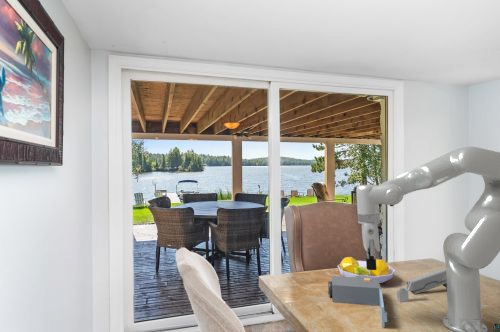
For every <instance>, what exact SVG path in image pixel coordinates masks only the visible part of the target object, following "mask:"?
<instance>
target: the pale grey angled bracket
mask: <svg viewBox="0 0 500 332" xmlns="http://www.w3.org/2000/svg"><path fill="white" fill-rule="evenodd" d="M408 280H409V282H408V284H406V287H400V288H399V289H397V290H396V297H397V298H396V299H397V302H399V303H405V302H407V303H408V302H409V292H410V293H411V291H412V288H413V286H414V282H412V281H410V280H411V279H408Z"/></svg>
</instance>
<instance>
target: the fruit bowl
mask: <svg viewBox="0 0 500 332" xmlns="http://www.w3.org/2000/svg"><path fill="white" fill-rule="evenodd" d="M337 269H338V270H339V272H340V274H341V275H340V276H343V277H359V278H375V279H378V282H379V284H383V283H385V282H387V281H389V280H391V279H393V276H394V274H395V272H396V269H395V268H393V267H392V266H390V265H388V263H387V262H386V260H384V259H377V258H376V270H367V265H366V260H356V259H355V258H354V257H352V256H347V257H344V258H342V260H341V261H340V263H339V264H338V265H337Z"/></svg>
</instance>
